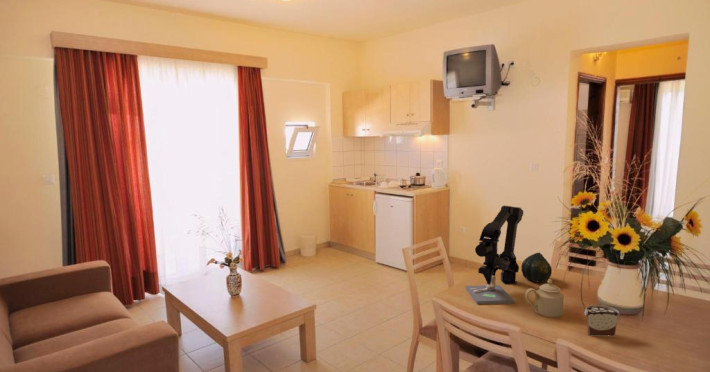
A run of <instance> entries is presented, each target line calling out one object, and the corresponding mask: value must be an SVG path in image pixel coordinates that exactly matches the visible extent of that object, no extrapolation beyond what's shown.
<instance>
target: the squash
mask: <svg viewBox="0 0 710 372" xmlns="http://www.w3.org/2000/svg"><path fill="white" fill-rule="evenodd" d="M520 268H521V269H520V270H521V273H522V276H523V278H525V279H528V280H532V282H533V283H539V282H540V283H543V282H545V281H548V280H549V279H551V276H552V271H553V270H552V269H553V268H552V266H551V265H550V263H549V262H548V260H547V259H546V258H545V257H544V255H543V254H542V253H541V252H536V253H535V252H534V253H533V254H531V255H529V256H527V257H526V258H524V260H523V261H522V263H521V266H520Z"/></svg>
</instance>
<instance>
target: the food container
mask: <svg viewBox="0 0 710 372" xmlns="http://www.w3.org/2000/svg"><path fill="white" fill-rule="evenodd" d="M584 316H586V325H587V329H586V330H587V335H588V336H589V337H590V336H591V337H615V336H616V331H617V325H618V320H619V317H621V313H620V310H618V309H616V308H614V307H610V306H607V305H600V304H592V305H588V306H587V307H585V309H584ZM608 335H609V336H608Z"/></svg>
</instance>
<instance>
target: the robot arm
mask: <svg viewBox="0 0 710 372" xmlns="http://www.w3.org/2000/svg"><path fill="white" fill-rule="evenodd" d="M523 216H524V210H523V209H522V207H519V206H510V205H501V208H500V210H499V212H498V213H497V215H496V216H495V217H494V219H493V221H491V222H489V223H487V224H486V225H485V226H484V227H483V228H482V230H481V234H480V236H479V239H478V240H479V242H478V245H477V246H476V247H475V249H474V250H475V251H474V252H475V253H476V255H477V256H478V257H480V258H484V262H483V265H481V266H480V267H479V268H478V269H477V270H478V271H477V273H478V274H482V275H483V277H484V279H485V282H486V281H487V283H488V285H490V284H491V279H492V275H493V276H495V277H496V272H497V271H498V270H499V271H501V272H500V279H499V280H500V281H501V282H502V283H503V284H504V285H506V284H507V285H508V284H510V285H511V284H512V285H514V284H518V283H517V281H516V280H517V279H516V278H517V273H519V270H520V266H519V264H518V263H517V256H516V254H515V245H516V238H517V229H518V224H520V222H521V221H522V219H523ZM505 223H507V224H506V225H507V226H506V232H505V241H504V248H503V251H502V252H501V253H498V242H500V240H499V239H500V238H501V237H500V236H501V234H502V227H503V226H504V224H505Z"/></svg>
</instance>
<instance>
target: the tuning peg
mask: <svg viewBox="0 0 710 372" xmlns="http://www.w3.org/2000/svg"><path fill="white" fill-rule="evenodd" d="M496 280H497V279H496V275H495V276H493V275H492V279H491V284H490V285H488V283H487V281H486V280H485V285H486V289H480V290H474V292H478V291H484V290H489V291H494V290H495V286H496V285H497V283H496Z"/></svg>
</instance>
